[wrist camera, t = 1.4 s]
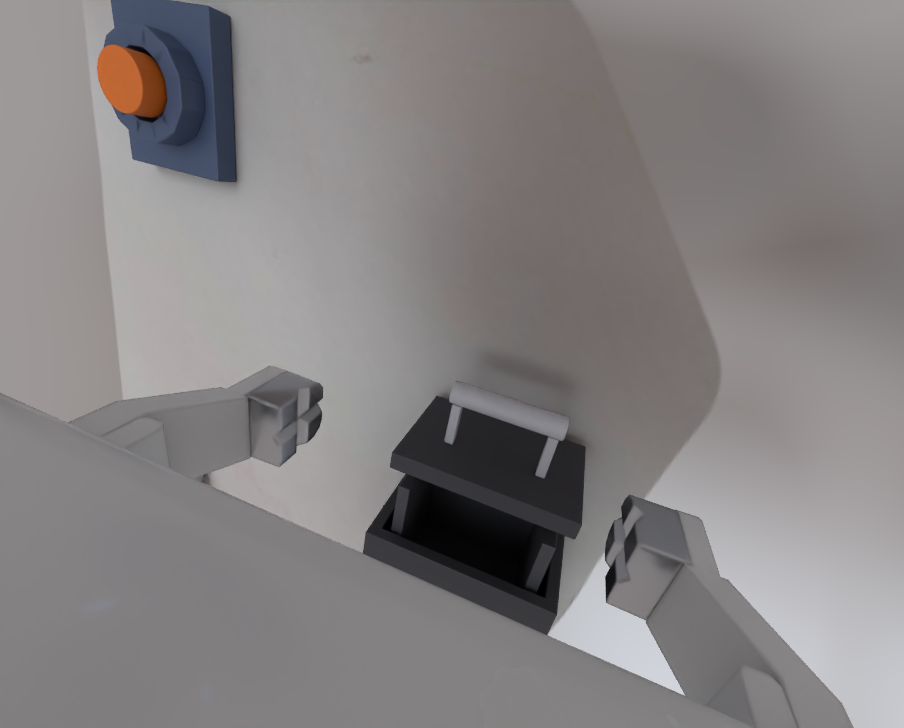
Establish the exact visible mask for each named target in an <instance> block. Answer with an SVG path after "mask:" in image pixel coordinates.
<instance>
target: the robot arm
mask: <svg viewBox="0 0 904 728" xmlns="http://www.w3.org/2000/svg"><path fill="white" fill-rule="evenodd" d="M322 398H323V387H322V386H321V384H320V383H318V382H315V381H312V380H310V379H307V378H305V377H302V376H299V375H297V374H294V373H292V372H288V371H286V370H283V369H281V368H278V367H275V366H268V367H266V368H265V369H263V370H261V371H259V372H257V373H255V374H253V375H251V376H250V377H248V378H246V379H244V380H242V381H240V382H238V383H237V384H235V385H233V386H231V387H229V388H227V389H225V388H222V387H219V388H211V389H204V390H196V391H189V392H181V393H174V394H167V395H159V396H152V397H144V398H137V399H129V400H122V401H116V402H113V403H111V404H109V405H107V406H105V407H102V408H100V409H98V410H95V411H93V412H91V413H88V414H86V415H84V416H82V417H79V418H77V419H75V420H73V421H71V422H68V423H67V422H65V421H62V420H60V419H58V418H56V417H53V416H51V415H49V414H47V413H44V412H42V411H40V410H37V409H35V408H33V407H31V406H28V405H26V404H24V403H22V402H20V401H17V400H15V399H13V398H11V397H8V396H6V395H4V394H1V393H0V728H853V726H852V724H851V722H850V720H849V717H848V715H847V713H846V711H845V709H844V707H843V705H842V703H841V702H840V701H839V700H838V699H837V698H836V696H835V695H834V694H833V693H832V692H831V691H830V690H829V689H828V688H827V687H826V686H825V685H824V683H823V682H821V680H820V679H819V678H818V677H817V676H816V675H815V674H814V673H813V672H812V671H811V669H810V668H809V667H808V666H807V665H806V664H805V663H804V662H803V661H802V660H801V658H800V657H799V656H798V655H797V654H796V653H795V652H794V651H793V650H792V649H791V648H790V647H789V645H788V644H787V643H786V642H785V641H784V640H783V639H782V638H781V637H780V636H779V635H778V634H777V632H776V631H774V629H773V628H772V627H771V626H770V625H769V624H768V623H767V622H766V621H765V620H764V618H763V617H762V616H761V615H760V614H759V613H758V612H757V611H756V610H755V609H754V608H753V607H752V606H751V604H750V603H749V602H748V601H747V600H746V599H745V598H744V597H743V596H742V595H741V593H740V592H739V591H738V590H737V589H736V588H735V587H734V586H733V585H732V584H731V583H730V581H728V580H727V579H724V578H722V577H720V574H719V571H718V568H717V565H716V562H715V559H714V556H713V553H712V550H711V546H710V543H709V540H708V537H707V534H706V531H705V528H704V525H703V522H702V520H701V519H700V518H699V517H696V516H693V515H690V514H687V513H684V512H681V511H678V510H673V509H670V508H667V507H664V506H661V505H658V504H656V503H653V502H650V501H647V500H644V499H641V498H638V497H635V496H633V495H630V494H629V496H628V497H627V498H626V499H625V501H624V503H623V505H622V507H621V510H622V518H619V519H617V520H615V521H614V522H613V525H612V527H611V529H610V531H609V534H608V538H607V541H606V548H605V561H606V563H607V564H608V566H609V567H610V569H609V571H608V573H607V575H606V577H605V579H606V603H608V604H610V605H612V606H615V607H617V608H619V609H621V610H624V611H626V612H628V613H630V614H633V615H635V616H637V617H639V618H642V619H644V620H646V624H647V626H648V628H649V629H650V631H651V633H652V635H653V637H654V638H655V640H656V642H657V644H658V646H659V648H660V650H661V652H662V653H663V655H664V657H665V659H666V661H667V662H668V664H669V666H670V668H671V670H672V672H673V674H674V675H675V677H676V679H677V681H678V683H679V684H680V687H681V688H682V690H683V692H684V694H685V696H684V695H681V694H679V693H677V692H675V691H672V690H670V689H668V688H665V687H663V686H661V685H659V684H657V683H654V682H652V681H650V680H648V679H645V678H643V677H641V676H638V675H636V674H634V673H632V672H629V671H627V670H625V669H622V668H620V667H618V666H616V665H613V664H611V663H609V662H607V661H604V660H602V659H600V658H597V657H595V656H593V655H591V654H588V653H586V652H583V651H581V650H579V649H577V648H575V647H572V646H570V645H568V644H566V643H563V642H561V641H559V640H557V639H554V638H552V637H550V636H548V635H545V634H543V633H541V632H539V631H536V630H534V629H532V628H530V627H527V626H525V625H523V624H521V623H518V622H516V621H514V620H512V619H509V618H507V617H505V616H503V615H500V614H498V613H496V612H494V611H491V610H489V609H487V608H485V607H482V606H480V605H478V604H476V603H473V602H471V601H469V600H467V599H464V598H462V597H460V596H458V595H455V594H453V593H451V592H449V591H446V590H444V589H442V588H440V587H438V586H435V585H433V584H431V583H429V582H426V581H424V580H422V579H419V578H417V577H415V576H413V575H410V574H408V573H406V572H404V571H401V570H399V569H397V568H395V567H392V566H390V565H388V564H385V563H383V562H381V561H379V560H376V559H374V558H372V557H370V556H367V555H365V554H363V553H361V552H358V551H356V550H354V549H352V548H349V547H347V546H345V545H342V544H340V543H338V542H336V541H333V540H331V539H329V538H327V537H324V536H322V535H320V534H318V533H315V532H313V531H311V530H309V529H306V528H304V527H302V526H299V525H297V524H295V523H293V522H290V521H288V520H286V519H284V518H281V517H279V516H277V515H275V514H272V513H270V512H268V511H266V510H263V509H261V508H259V507H257V506H254V505H252V504H250V503H248V502H245V501H243V500H241V499H238V498H236V497H234V496H232V495H229V494H227V493H225V492H223V491H220V490H218V489H216V488H214V487H211V486H209V485H207V484H205V483H202V482H200V481H198V480H196V479H194V478H196V477H199V476H202V475H205V474H208V473H210V472H213V471H216V470H219V469H221V468H224V467H227V466H230V465H233V464H235V463H238V462H241V461H244V460H246V459H249V458H250V456H251V457H253V458H256V459H259V460H261V461H264V462H267V463H269V464H272V465H275V466H277V467H280V466H281V465H282V464H283V463H285V462H286V461H287V460H288V459H289V458H290V457H291V456H293V455H294V454H295V453H296V446H297V445H301V444H305V443H307V442H309V441H310V440H311V439H312V438H313V437H314V435H315V434H316V432H317V430H318V429H319V426H320V423H321V419H322V411H321V409H320V407H319V405H318V402H319V401H320V400H321V399H322Z"/></svg>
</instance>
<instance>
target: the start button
mask: <svg viewBox="0 0 904 728" xmlns="http://www.w3.org/2000/svg"><path fill="white" fill-rule="evenodd" d="M97 71H98V78H99V82H100V85H101V88H102V90H103V93H104V95H105V96H106V98H107V99H108V101H109V102H110V103H111V105H112V106H113V107H115V108H116V109H117V110H119V111H120V112H122V113H125V114H131V115H137V116H143V117H150V118H154V117H157V116H159V115H161V114H162V113H163V111H164V109H165V106H166V103H167V92H166V82H165V78H164V76H163V73H162V71H161V69H160V67H159V66H158V64H157V63H156V62H155V61H154V60H153V59H152V58H151V57H150V56H148V55H147V54H145V53H142V52H138V51H135V50H132V49H128V48H125V47H122V46H118V45H108V46H106V47H105V48H104V49H103V50H102V51H101V53H100V55H99V58H98V65H97Z"/></svg>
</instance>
